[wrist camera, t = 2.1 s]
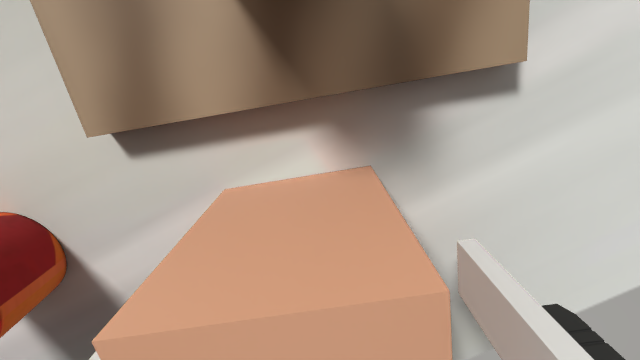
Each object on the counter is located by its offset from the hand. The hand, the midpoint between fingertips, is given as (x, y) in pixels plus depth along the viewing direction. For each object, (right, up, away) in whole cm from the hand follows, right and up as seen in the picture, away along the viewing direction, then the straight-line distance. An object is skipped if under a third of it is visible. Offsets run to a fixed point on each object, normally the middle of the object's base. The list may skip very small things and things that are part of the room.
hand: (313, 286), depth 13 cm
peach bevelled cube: (0, +1, +4) cm, 4 cm away
